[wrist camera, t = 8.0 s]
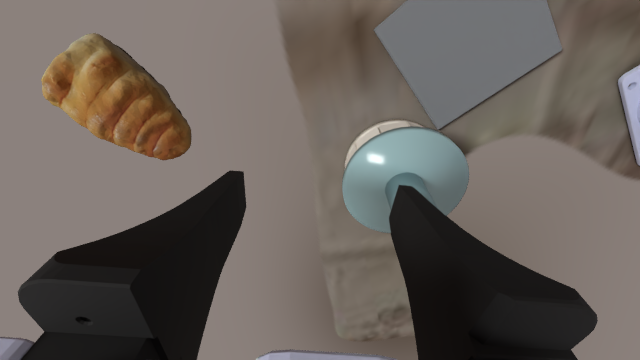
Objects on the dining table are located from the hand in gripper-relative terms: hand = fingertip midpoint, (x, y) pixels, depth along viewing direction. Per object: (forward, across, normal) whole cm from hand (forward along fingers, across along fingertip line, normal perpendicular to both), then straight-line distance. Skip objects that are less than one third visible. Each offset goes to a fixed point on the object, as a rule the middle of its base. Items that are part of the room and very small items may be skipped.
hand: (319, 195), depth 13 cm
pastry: (+11, +15, 0) cm, 18 cm away
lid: (+7, -6, +3) cm, 10 cm away
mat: (+10, -9, -6) cm, 15 cm away
